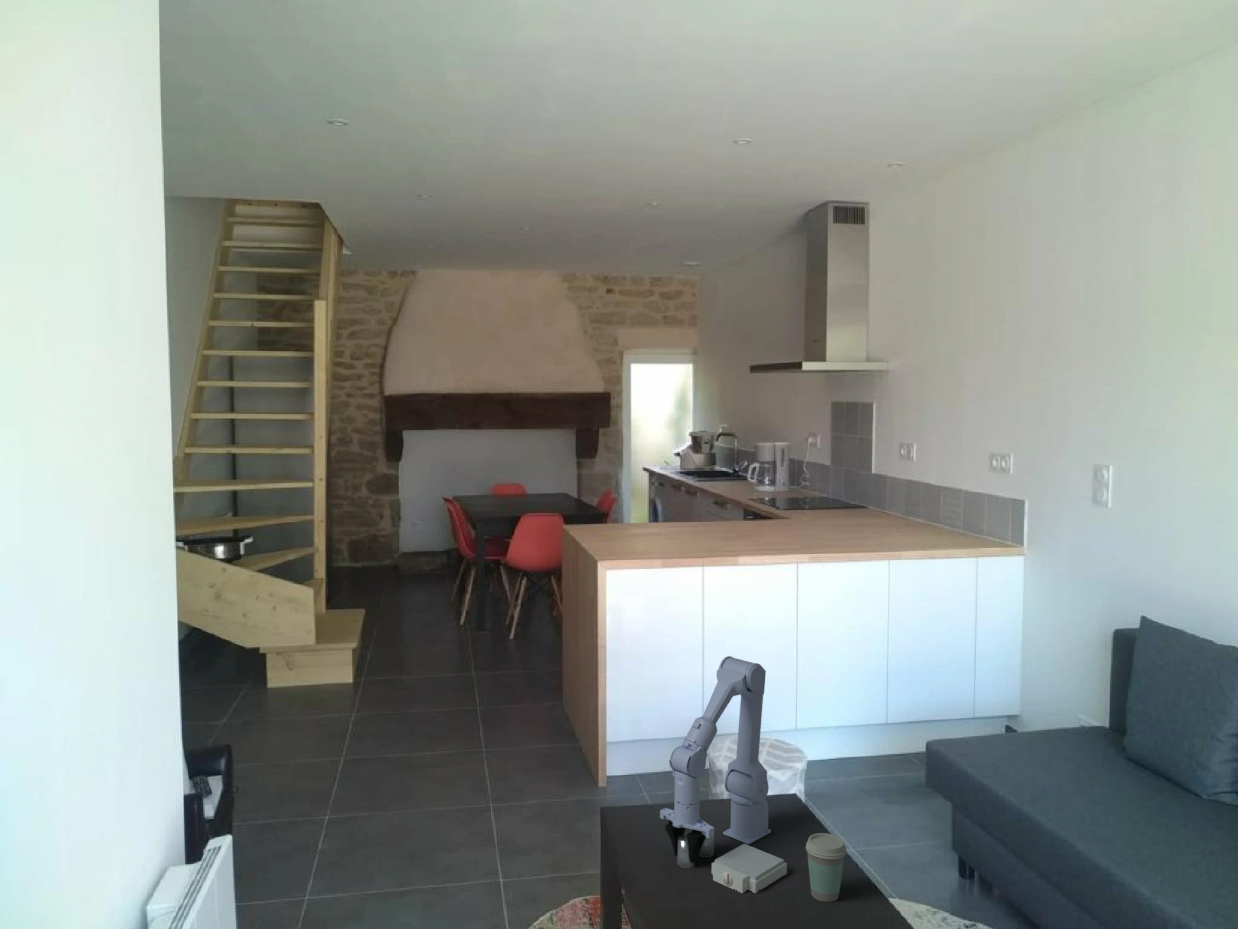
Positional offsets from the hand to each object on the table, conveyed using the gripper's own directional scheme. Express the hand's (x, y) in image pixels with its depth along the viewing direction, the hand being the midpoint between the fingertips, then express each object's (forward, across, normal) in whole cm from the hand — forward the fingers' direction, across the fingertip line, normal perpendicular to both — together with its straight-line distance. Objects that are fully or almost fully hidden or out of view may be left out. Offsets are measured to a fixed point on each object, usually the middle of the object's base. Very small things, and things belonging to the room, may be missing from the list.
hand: (686, 857), depth 213 cm
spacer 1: (+1, 0, 0) cm, 1 cm away
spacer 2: (+1, 0, +7) cm, 7 cm away
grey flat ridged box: (+1, +13, +5) cm, 14 cm away
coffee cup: (+2, +30, +10) cm, 32 cm away
